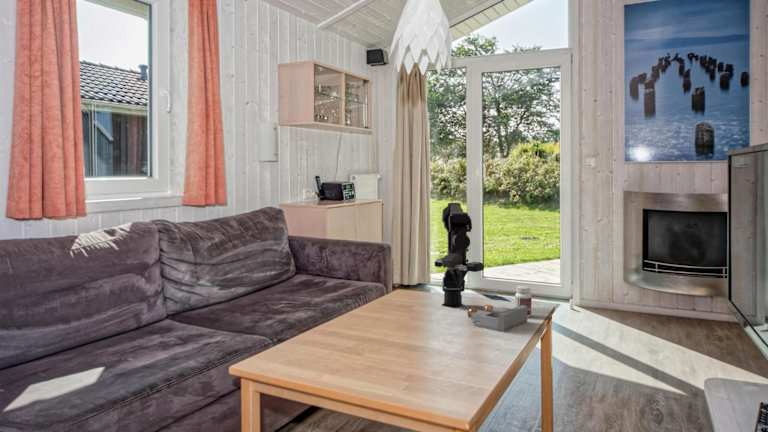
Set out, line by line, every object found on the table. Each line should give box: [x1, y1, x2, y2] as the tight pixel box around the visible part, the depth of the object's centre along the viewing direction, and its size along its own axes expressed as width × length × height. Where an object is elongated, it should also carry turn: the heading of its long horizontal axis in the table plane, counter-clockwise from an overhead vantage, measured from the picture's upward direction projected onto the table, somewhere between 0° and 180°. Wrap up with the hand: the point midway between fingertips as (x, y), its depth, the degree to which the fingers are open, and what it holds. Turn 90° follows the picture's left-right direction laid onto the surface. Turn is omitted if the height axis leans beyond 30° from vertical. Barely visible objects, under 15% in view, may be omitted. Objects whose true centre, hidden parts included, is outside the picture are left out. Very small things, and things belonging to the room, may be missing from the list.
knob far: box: [483, 304, 508, 312], centre depth 210 cm, size 8×5×4 cm, turn 49°
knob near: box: [467, 307, 493, 322], centre depth 206 cm, size 8×5×4 cm, turn 49°
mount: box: [473, 305, 528, 333], centre depth 204 cm, size 12×17×6 cm
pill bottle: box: [514, 285, 533, 318], centre depth 216 cm, size 6×6×11 cm
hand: (458, 287), depth 211 cm, fingers closed
